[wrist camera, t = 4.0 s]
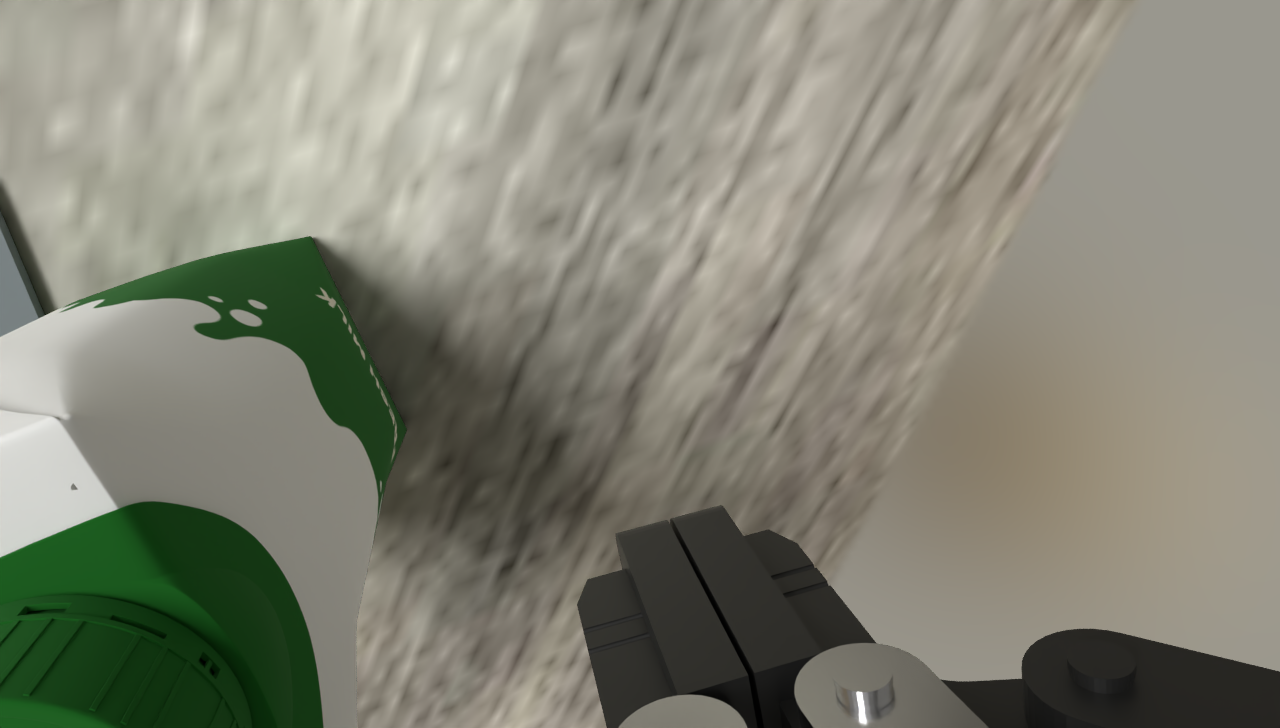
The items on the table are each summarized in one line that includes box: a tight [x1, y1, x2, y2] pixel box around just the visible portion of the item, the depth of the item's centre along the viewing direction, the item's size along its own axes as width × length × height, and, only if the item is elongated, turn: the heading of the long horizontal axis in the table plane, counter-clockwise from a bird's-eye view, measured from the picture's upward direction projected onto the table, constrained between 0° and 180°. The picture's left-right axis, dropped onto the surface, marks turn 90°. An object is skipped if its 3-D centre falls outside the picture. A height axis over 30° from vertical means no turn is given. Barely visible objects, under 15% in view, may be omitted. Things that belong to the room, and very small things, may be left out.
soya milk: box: [0, 236, 407, 728], centre depth 18 cm, size 9×9×20 cm
